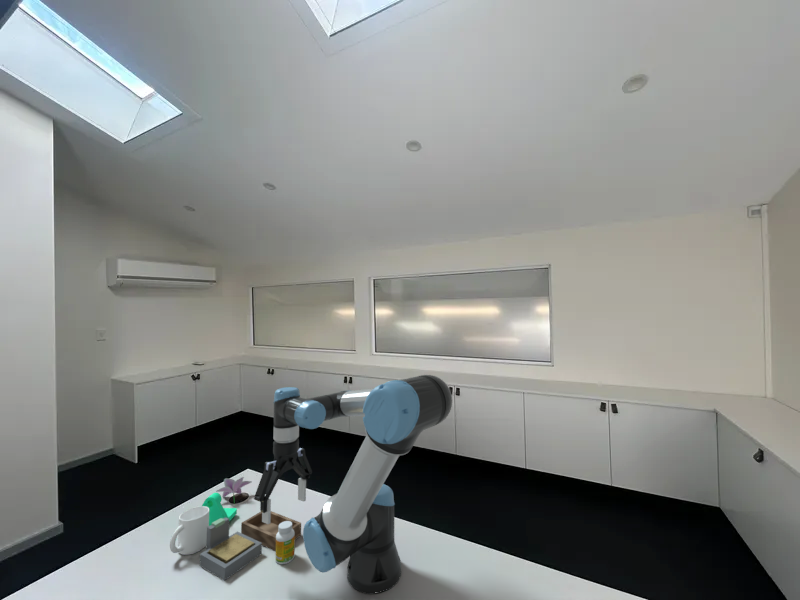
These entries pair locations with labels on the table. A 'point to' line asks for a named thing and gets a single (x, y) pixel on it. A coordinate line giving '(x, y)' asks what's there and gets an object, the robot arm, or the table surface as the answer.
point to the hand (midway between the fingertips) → (285, 510)
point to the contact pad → (231, 548)
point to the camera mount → (218, 508)
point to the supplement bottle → (285, 543)
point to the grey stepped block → (218, 535)
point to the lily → (233, 486)
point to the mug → (191, 531)
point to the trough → (267, 529)
